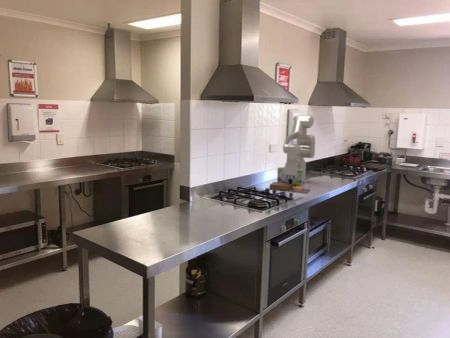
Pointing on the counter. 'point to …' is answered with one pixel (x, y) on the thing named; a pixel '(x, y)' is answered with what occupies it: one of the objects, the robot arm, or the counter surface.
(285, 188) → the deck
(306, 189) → the mat
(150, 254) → the counter surface
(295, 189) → the tile
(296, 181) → the snack box
